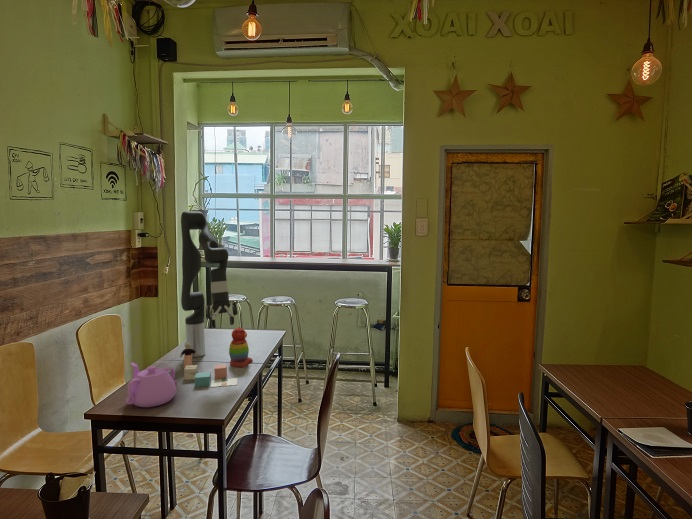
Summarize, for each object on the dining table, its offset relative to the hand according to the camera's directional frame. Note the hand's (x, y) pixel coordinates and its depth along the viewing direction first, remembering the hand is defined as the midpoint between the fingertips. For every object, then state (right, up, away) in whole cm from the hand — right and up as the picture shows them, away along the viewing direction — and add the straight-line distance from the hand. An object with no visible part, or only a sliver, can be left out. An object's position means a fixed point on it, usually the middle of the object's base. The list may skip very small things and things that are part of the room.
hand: (222, 326), depth 204 cm
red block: (0, -23, -3) cm, 23 cm away
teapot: (-21, -25, -28) cm, 43 cm away
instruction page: (+4, -23, -10) cm, 25 cm away
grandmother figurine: (-19, -22, +10) cm, 31 cm away
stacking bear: (+4, -21, +15) cm, 26 cm away
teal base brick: (-5, -23, -11) cm, 26 cm away
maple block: (-13, -23, -4) cm, 26 cm away
